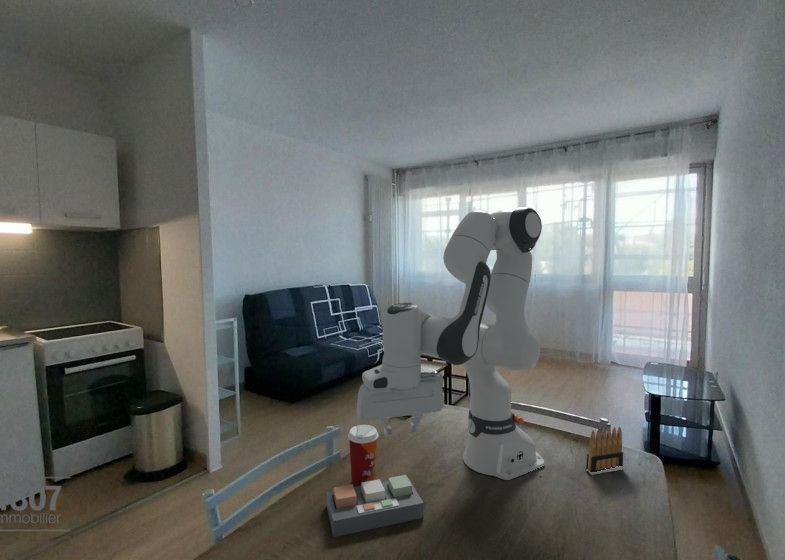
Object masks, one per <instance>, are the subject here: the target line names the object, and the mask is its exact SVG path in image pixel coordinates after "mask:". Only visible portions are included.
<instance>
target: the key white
mask: <svg viewBox="0 0 785 560" xmlns="http://www.w3.org/2000/svg"><path fill="white" fill-rule="evenodd" d="M381 482H382V481H381V479H374V480H373V481H368V482H362V483H361V493H362V495H363V498H364V501H365V503H370V502H375V501H380V500H385V490H384V487H383V485H382V483H381Z"/></svg>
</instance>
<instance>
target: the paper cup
mask: <svg viewBox="0 0 785 560" xmlns="http://www.w3.org/2000/svg"><path fill="white" fill-rule="evenodd" d="M347 438H348V439H349V440H348V441H349V460H350V461H349V462H350V475H351V477H350V478H351V484H353V487H356V486H361V483H362V482H368V481H373V480H375V476H376V474H375V473H376V460H377V447H378V445H377V444H378V439H379V433H378V431H377V428H376V427H374V426H372V425H369V424H359V425H355V426H353V427H351V428H350V430H349V433H348V435H347Z"/></svg>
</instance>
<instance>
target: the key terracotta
mask: <svg viewBox="0 0 785 560" xmlns="http://www.w3.org/2000/svg"><path fill="white" fill-rule="evenodd" d="M332 491H333V498H334V502H335V506H336V509H339V508H344V507H349V506H354V505H357V496H356V493H355V490H354V487H353V484H352V483H351V484H347V485H340V486H334V487H333V490H332Z"/></svg>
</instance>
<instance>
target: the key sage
mask: <svg viewBox="0 0 785 560" xmlns="http://www.w3.org/2000/svg"><path fill="white" fill-rule="evenodd" d="M407 477H408V475H406V474H403V475H396V476H392V477H388V478H387V481H388V488H389V490H390V492H391V494H392V496H393V498H396V497H401V496H406V495H411V494H412V485H413V483H412V482H411V483H412V484H411V483H410V481H411V480H410V478H409V477H408V478H409V479H408V478H407ZM409 480H410V481H409Z"/></svg>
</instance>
